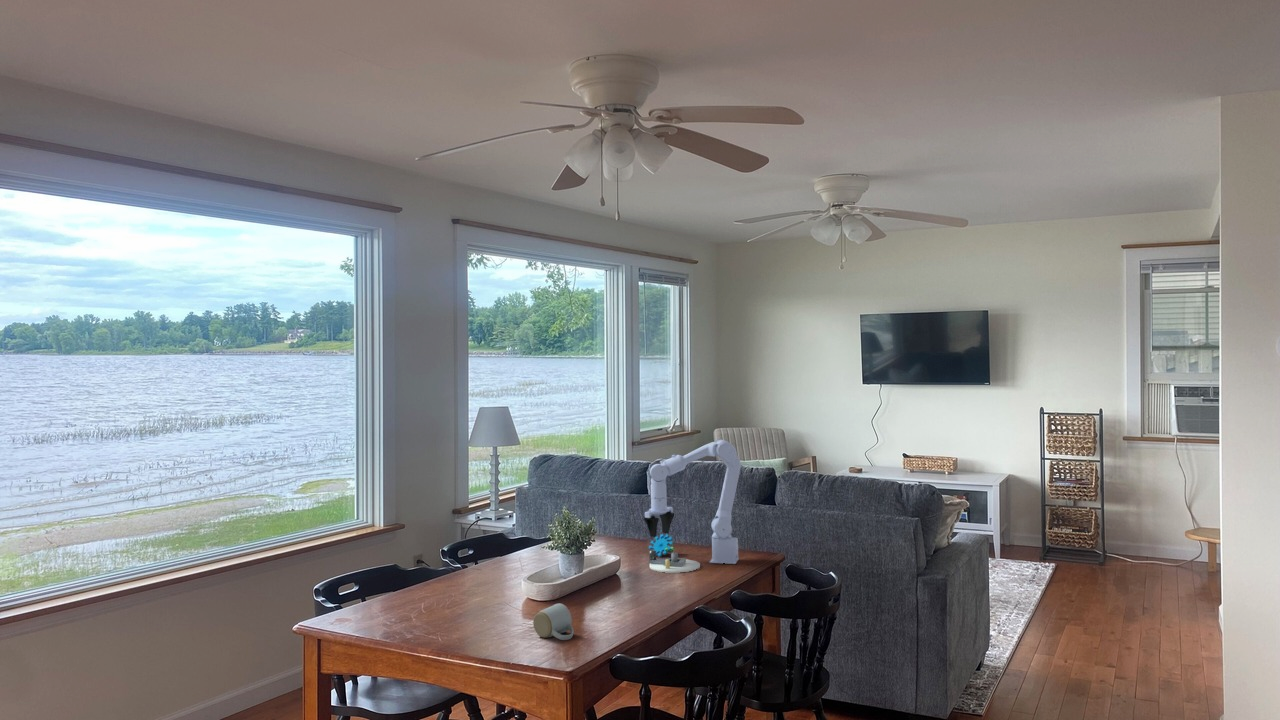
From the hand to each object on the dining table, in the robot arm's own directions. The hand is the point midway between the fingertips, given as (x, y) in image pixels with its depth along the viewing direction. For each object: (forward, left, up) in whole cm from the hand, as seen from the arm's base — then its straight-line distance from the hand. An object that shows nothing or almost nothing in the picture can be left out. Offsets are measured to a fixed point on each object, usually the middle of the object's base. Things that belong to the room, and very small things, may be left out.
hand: (659, 534), depth 316 cm
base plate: (-7, +5, -10) cm, 13 cm away
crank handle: (-4, +5, -9) cm, 11 cm away
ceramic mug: (+7, +88, -11) cm, 89 cm away
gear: (+2, -13, -11) cm, 17 cm away
